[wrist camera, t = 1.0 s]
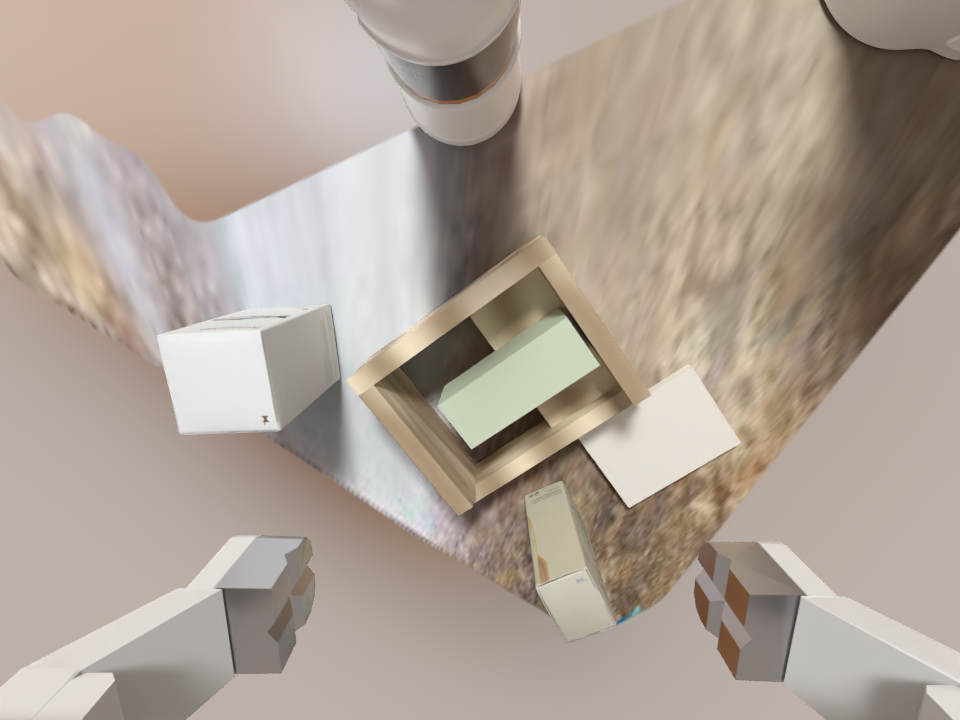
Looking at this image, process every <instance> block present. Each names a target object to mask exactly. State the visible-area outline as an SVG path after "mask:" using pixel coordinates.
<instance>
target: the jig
mask: <svg viewBox="0 0 960 720" xmlns="http://www.w3.org/2000/svg"><path fill="white" fill-rule="evenodd" d="M557 307H559V309H560V310H561V311H562V312H563V313H564V314H565V315H566V317H567V318H568V319H569V321H570V322H571V324H572V325H573V327H574V328H575V330H576V331H577V332H578V334H579V335H580V337H581V338H582V340H583V341H584V343H585V344H586V346H587V347H588V348H589V350H590V351H591V353H592V354H593V356H594V357H595V359H596V360H597V362H598V363H599V364H600V366H598V367H597V368H595V369H594V370H592V371H591V372H589V373H588V374H586V375H585V376H583V377H582V378H580V379H579V380H577V381H576V382H574V383H572V384H571V385H569V386H568V387H566V388H565V389H563V390H562V391H560V392H559V393H557V394H556V395H554V396H553V397H551V398H550V399H548V400H546V401H545V402H543V403H542V404H540V405H539V406H537V408H538V410H539V411H540V413H541V414H542V415H543V417H544V418H545V420H543V421H542V422H540V423H539V424H537V425H536V426H534V427H533V428H531V429H529V430H528V431H526V432H525V433H523V434H522V435H520V436H519V437H517V438H515V439H514V440H512V441H511V442H509V443H508V444H506V445H505V446H503V447H502V448H500V449H498V450H497V451H495V452H494V453H492V454H491V455H489V456H488V457H486V458H484V459H483V460H481V461H480V462H478V463H476V462H475V461H474V460H473V458H472V457H471V456H470V455H469V453H468V452H467V451H466V450H465V448H464V447H463V446H462V445H461V443H460V442H459V441H458V440H457V438H456V437H455V436H454V435H453V433H452V432H451V431H450V429H449V428H448V427H447V426H446V424H445V423H444V422H443V421H442V419H441V418H440V417H439V416H438V414H437V413H436V412H435V411H434V409H433V408H432V407H431V406H430V404H429V403H428V402H427V401H426V399H425V398H424V397H423V396H422V394H421V393H420V392H419V390H418V389H417V388H416V387H415V385H414V384H413V383H412V382H411V380H410V379H409V378H408V377H407V375H406V374H405V373H404V372H403V370H402V369H401V368H400V367H399V366H401V365H402V364H403V363H405V362H406V361H408V360H409V359H410V358H412V357H413V356H415V355H416V354H417V353H419V352H420V351H422V350H423V349H424V348H426V347H427V346H428V345H430V344H431V343H433V342H434V341H435V340H437V339H438V338H440V337H441V336H442V335H444V334H445V333H447V332H448V331H449V330H451V329H452V328H453V327H455V326H456V325H458V324H459V323H460V322H462V321H463V320H465V319H466V318H467V317H469V316H470V318H471V319H472V320H473V322H474V323H475V324H476V326H477V327H478V329H479V330H480V331H481V333H482V334H483V335H484V337H485V338H486V339H487V341H488V342H489V343H490V345H491V346H492V348H493V349H494V350H495V351H496V350H497V349H498V348H500V347H501V346H503V345H504V344H506V343H507V342H508V341H510V340H511V339H513V338H514V337H516V336H517V335H519V334H520V333H521V332H523V331H524V330H526V329H527V328H529V327H530V326H532V325H533V324H534V323H536V322H537V321H539V320H540V319H542V318H543V317H544V316H546V315H547V314H549V313H550V312H552V311H553V310H555V309H556V308H557ZM347 383H348V384H349V385H350V386H351V387H352V389H353V390H354V391H355V392H356V393H357V395H358V396H359V397H360V398H361V399H362V401H363V402H364V403H365V404H366V405H367V407H368V408H369V409H370V410H371V411H372V413H373V414H374V415H375V416H376V417H377V419H378V420H379V421H380V422H381V423H382V425H383V426H384V427H385V428H386V430H387V431H388V432H389V433H390V434H391V436H392V437H393V438H394V439H395V440H396V442H397V443H398V444H399V445H400V446H401V448H402V449H403V450H404V451H405V452H406V454H407V455H408V456H409V457H410V458H411V460H412V461H413V462H414V463H415V464H416V466H417V467H418V468H419V469H420V470H421V472H422V473H423V474H424V475H425V477H426V478H427V479H428V480H429V481H430V483H431V484H432V485H433V486H434V487H435V489H436V490H437V491H438V492H439V493H440V495H441V496H442V497H443V498H444V499H445V501H446V502H447V503H448V504H449V505H450V507H451V508H452V509H453V510H454V511H455V513H456V514H457V515H458V516H459V515H461V514H462V513H464V512H466V511H467V510H469V509H470V508H472V507H473V504H474V503H476V502H477V501H479V500H480V499H482V498H484V497H485V496H487V495H488V494H490V493H492V492H493V491H495V490H496V489H498V488H500V487H501V486H503V485H504V484H506V483H508V482H509V481H511V480H512V479H514V478H516V477H517V476H519V475H520V474H522V473H524V472H525V471H527V470H528V469H530V468H532V467H533V466H535V465H536V464H538V463H540V462H541V461H543V460H544V459H546V458H548V457H549V456H551V455H552V454H554V453H555V452H557V451H559V450H560V449H562V448H563V447H565V446H567V445H568V444H570V443H571V442H573V441H575V440H576V439H578V438H579V437H581V436H583V435H584V434H586V433H587V432H589V431H591V430H592V429H594V428H595V427H597V426H599V425H600V424H602V423H603V422H605V421H607V420H608V419H610V418H611V417H613V416H615V415H616V414H618V413H619V412H621V411H623V410H624V409H626V408H627V407H629V406H631V405H632V404H633V405H634V406H635V405H637V404H638V403H640V402H642V401H643V400H645V399H646V398H648V397H650V396H651V394H650V392H649V391H648V389H647V388H646V386H645V385H644V383H643V382H642V380H641V379H640V377H639V376H638V374H637V373H636V371H635V370H634V368H633V367H632V365H631V364H630V362H629V361H628V359H627V358H626V356H625V355H624V353H623V352H622V350H621V349H620V347H619V346H618V344H617V343H616V341H615V340H614V338H613V337H612V335H611V334H610V332H609V331H608V329H607V328H606V327H605V325H604V324H603V322H602V321H601V319H600V318H599V316H598V315H597V313H596V312H595V310H594V309H593V307H592V306H591V304H590V303H589V301H588V300H587V298H586V297H585V295H584V294H583V292H582V291H581V289H580V288H579V286H578V285H577V283H576V282H575V280H574V279H573V277H572V276H571V274H570V273H569V271H568V270H567V268H566V267H565V265H564V264H563V262H562V261H561V259H560V258H559V256H558V255H557V253H556V252H555V250H554V249H553V248H552V246H551V245H550V243H549V242H548V240H547V239H546V237H545V236H535V237H533V238H532V239H530V240H529V241H528V242H526V243H525V244H524V245H522V246H521V247H520V248H518V249H517V250H515V251H514V252H513V253H511V254H510V255H509V256H507V257H506V258H505V259H503V260H502V261H501V262H499V263H498V264H496V265H495V266H494V267H492V268H491V269H490V270H488V271H487V272H486V273H484V274H483V275H481V276H480V277H479V278H477V279H476V280H475V281H473V282H472V283H471V284H469V285H468V286H467V287H465V288H464V289H462V290H461V291H460V292H458V293H457V294H456V295H454V296H453V297H452V298H450V299H449V300H448V301H446V302H445V303H443V304H442V305H441V306H439V307H438V308H437V309H435V310H434V311H433V312H431V313H430V314H428V315H427V316H426V317H424V318H423V319H422V320H420V321H419V322H418V323H416V324H415V325H414V326H412V327H411V328H409V329H408V330H407V331H405V332H404V333H403V334H401V335H400V336H399V337H397V338H396V339H394V340H393V341H392V342H390V343H389V344H388V345H386V346H385V347H384V348H382V349H381V350H380V351H378V352H377V353H375V354H374V355H373V356H371V357H370V358H369V359H368V360H367V361H366V362H365V363H364V364H363V365H362V366H361V367H360V368H359V369H358V370H357V371H356V372H355V373H354V374H353V375H352V376H351V377H350V378H349V379H348V380H347Z"/></svg>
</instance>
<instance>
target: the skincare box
mask: <svg viewBox="0 0 960 720" xmlns="http://www.w3.org/2000/svg"><path fill="white" fill-rule="evenodd" d="M524 499H525V507H526V514H527V522H528V530H529V538H530V545H531V553H532V561H533V569H534V577H535V586H536V590H537V592H538V594H539V596H540V598H541V600H542V602H543V604H544V606H545V608H546V610H547V611H548V613H549V615H550V617H551V618H552V620H553V622H554V623H555V625H556V627H557V628H558V630H559V631H560V633H561V635H562V636H563V638H564V640H565V641H566V642H567V643H570V642H572V641H575V640H578V639H582V638H585V637H588V636H591V635H593V634H597V633H600V632H603V631H606V630H608V629H611V628H615V626H616V622H615V618H614V615H613V612H612V609H611V606H610V602H609V599H608V596H607V593H606V590H605V587H604V584H603V580H602V577H601V574H600V571H599V568H598V565H597V562H596V558H595V555H594V552H593V549H592V546H591V543H590V539H589V536H588V533H587V530H586V527H585V524H584V522H583V520H582V518H581V516H580V514H579V512H578V510H577V508H576V506H575V504H574V502H573V500H572V498H571V496H570V494H569V492H568V490H567V489H566V487H565V485H564V483H563V482H562V481H559V482H557V483H554V484H552V485H549V486H547V487H544V488H542V489H539V490H537V491H534V492H532V493H530V494H528V495H526V496H525V497H524Z"/></svg>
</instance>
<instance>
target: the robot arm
mask: <svg viewBox="0 0 960 720" xmlns="http://www.w3.org/2000/svg"><path fill="white" fill-rule="evenodd" d="M825 3H826V5H827V7H828V9H829V11H830V12H831V14H832V16H833V17H834V18H835V20H836V21H837V22H838V24H839V25H840V26H841V27H842V28H843V29H844V30H845V31H846V32H847V33H849V34H850V35H851V36H853V37H854V38H856V39H857V40H859V41H861V42H863V43H865V44H868V45H870V46H874V47H877V48H882V49H889V50H906V49H928V50H931V51H933V52H935V53H937V54H939V55H941V56H944V57H946V58H949V59H953V60H960V0H825ZM312 555H313V554H312V546H311V541H310V540H309V538H307V537H294V536H293V537H292V536H264V535H262V536H258V535H237V536H234V537H231V538H230V539H229V540H228V541H227V543H226V544H225V545H224V546H223V547H222V548H221V549H220V551H219V552H218V553H217V554H216V555H215V556H214V557H213V559H211V561H210V562H209V563H208V564H207V565H206V566H205V567H204V568H203V570H202V571H201V572H200V573H199V574H198V575H197V576H196V577H195V578H194V580H193V581H192V582H191V583H190V584H189V585H188V586H187V587H186V588H183V589H182V588H180V589H179V588H178V589H176V590H174V591H172V592H170V593H168V594H166V595H164V596H162V597H160V598H158V599H156V600H155V601H152V602H150V603H149V604H147V605H144V606H143V607H141V608H139V609H137V610H135V611H133V612H131V613H129V614H127V615H125V616H123V617H121V618H119V619H117V620H115V621H113V622H111V623H109V624H107V625H106V626H104V627H102V628H100V629H98V630H96V631H94V632H92V633H90V634H88V635H86V636H84V637H82V638H80V639H78V640H76V641H75V642H73V643H71V644H69V645H67V646H65V647H63V648H61V649H59V650H57V651H55V652H53V653H51V654H49V655H47V656H45V657H43V658H41V659H39V660H38V661H36V662H34V663H32V664H30V665H28V666H26V667H24V668H22V669H20V671H18V672H17V673H16V674H15V675H14V676H13V677H11V679H9V680H8V681H7V682H6V683H5V684H4V685H3V686H1V688H0V720H186V719H187V718H188V717H189V716H191V715H192V714H193V713H194V712H195V711H196V710H197V709H198V708H200V707H201V706H202V705H203V704H204V703H205V702H207V701H208V700H209V699H210V698H211V697H212V696H213V695H214V694H216V693H217V692H218V691H219V690H220V689H221V688H222V687H224V686H225V685H226V684H227V683H228V682H229V681H230V680H232V679H233V678H234V677H235V675H234V674H261V673H262V674H265V673H282V671H283V669H284V667H285V665H286V663H287V660H288V658H289V657H290V654H291V652H292V650H293V648H294V646H295V644H296V636H295V631H296V630H298V629H299V628H300V627H302V626H303V625H304V624H305V623H306V621H307V619H308V617H309V615H310V612H311V609H312V605H313V601H314V596H315V575H314V573H313V572H312V570H311V569H310V568H309V567H308V566H307V564H308V563H309V561H310V559H311V557H312ZM698 560H699V562H700V563H701V565H702V567H703V568H704V570H703V571H702V572H701V573H700V574H699V575H698V576H697V577H696V578H695V588H694V597H695V604H696V609H697V611H698V614H699V617H700V619H701V621H702V623H703V625H704V627H705V628H706V630H708V631H710V632H711V633H712V634H713V635H715V636H716V637H718V638H719V639H718V647H717V649H718V651H719V652H720V654H721V656H722V658H723V659H724V661H725V663H726V664H727V666H728V668H729V670H730V671H731V673H732V675H733V676H734V678H735V679H736V680H749V681H772V682H784V684H783V685H785V686H786V687H787V688H788V689H789V690H791V691H792V692H793V693H794V694H795V695H797V696H798V697H799V698H800V699H802V700H803V701H804V702H805V703H806V704H807V705H809V706H810V707H811V708H812V709H814V710H815V711H816V712H817V713H818V714H819V715H821V716H822V717H823V718H824V719H825V720H960V653H959V652H957V651H955V650H953V649H951V648H949V647H947V646H945V645H943V644H941V643H939V642H937V641H935V640H933V639H931V638H929V637H927V636H925V635H923V634H921V633H919V632H917V631H914V630H912V629H910V628H908V627H906V626H904V625H902V624H900V623H898V622H896V621H894V620H892V619H890V618H888V617H886V616H884V615H882V614H880V613H878V612H876V611H874V610H872V609H870V608H868V607H866V606H864V605H862V604H860V603H858V602H856V601H854V600H852V599H850V598H848V597H838V596H837V595H836V594H834V592H832V590H831V589H830V588H829V587H828V586H826V585H825V584H824V583H823V582H822V581H821V580H820V579H819V578H818V577H817V576H816V575H815V574H814V573H813V572H812V571H811V570H810V569H809V568H808V567H807V566H806V565H805V564H804V563H803V562H802V561H801V560H800V559H799V558H798V557H797V556H796V555H795V554H794V553H793V552H792V551H791V550H790V549H789V548H788V547H787V546H786V545H785V544H783V543H780V542H778V541H752V542H703V543H702V545H701V547H700V548H699V555H698Z"/></svg>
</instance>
